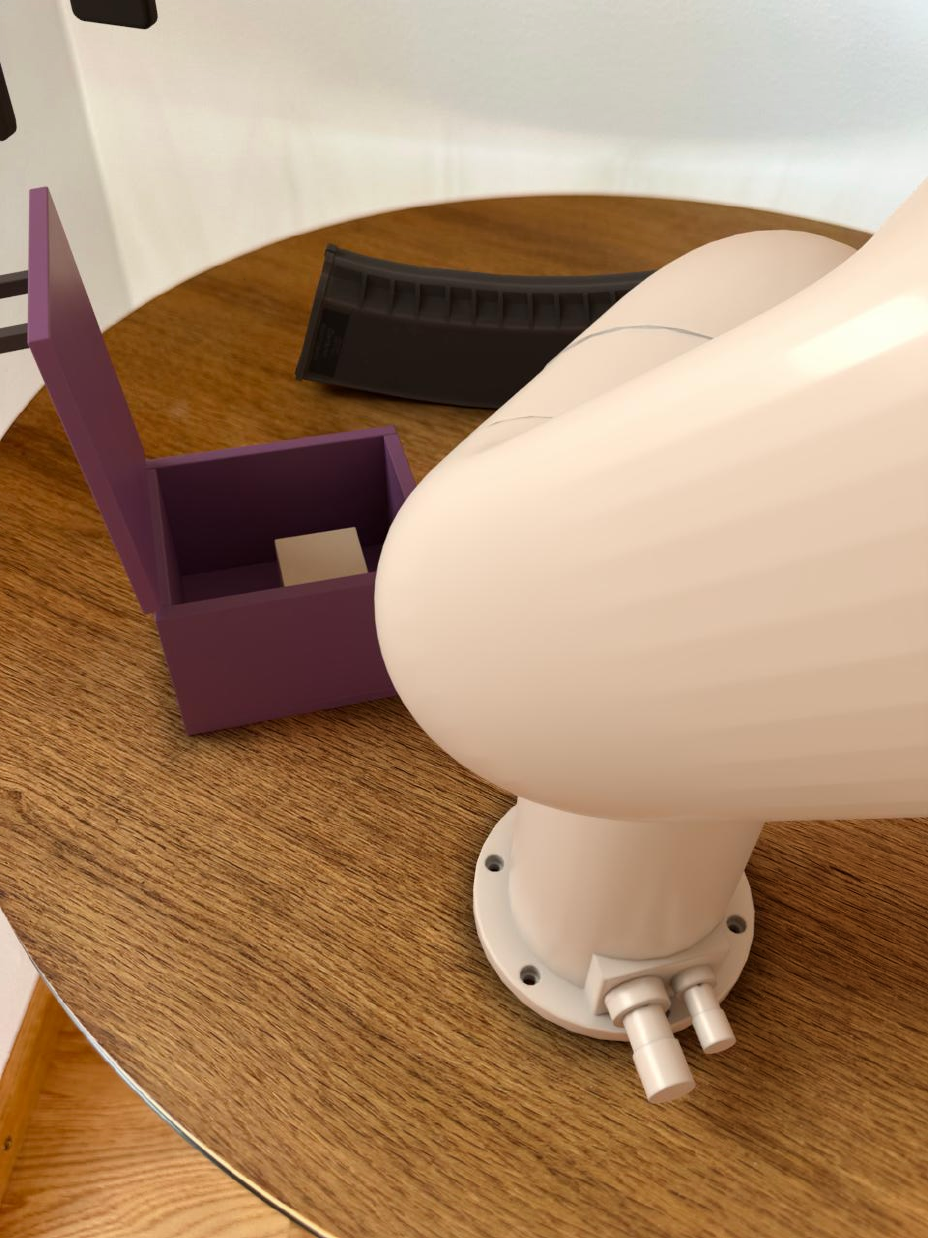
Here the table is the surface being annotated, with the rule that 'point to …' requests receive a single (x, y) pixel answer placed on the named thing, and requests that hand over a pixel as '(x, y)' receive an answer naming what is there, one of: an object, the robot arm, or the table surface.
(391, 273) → the magazine
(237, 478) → the box
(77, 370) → the lid
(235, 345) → the table surface
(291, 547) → the block
